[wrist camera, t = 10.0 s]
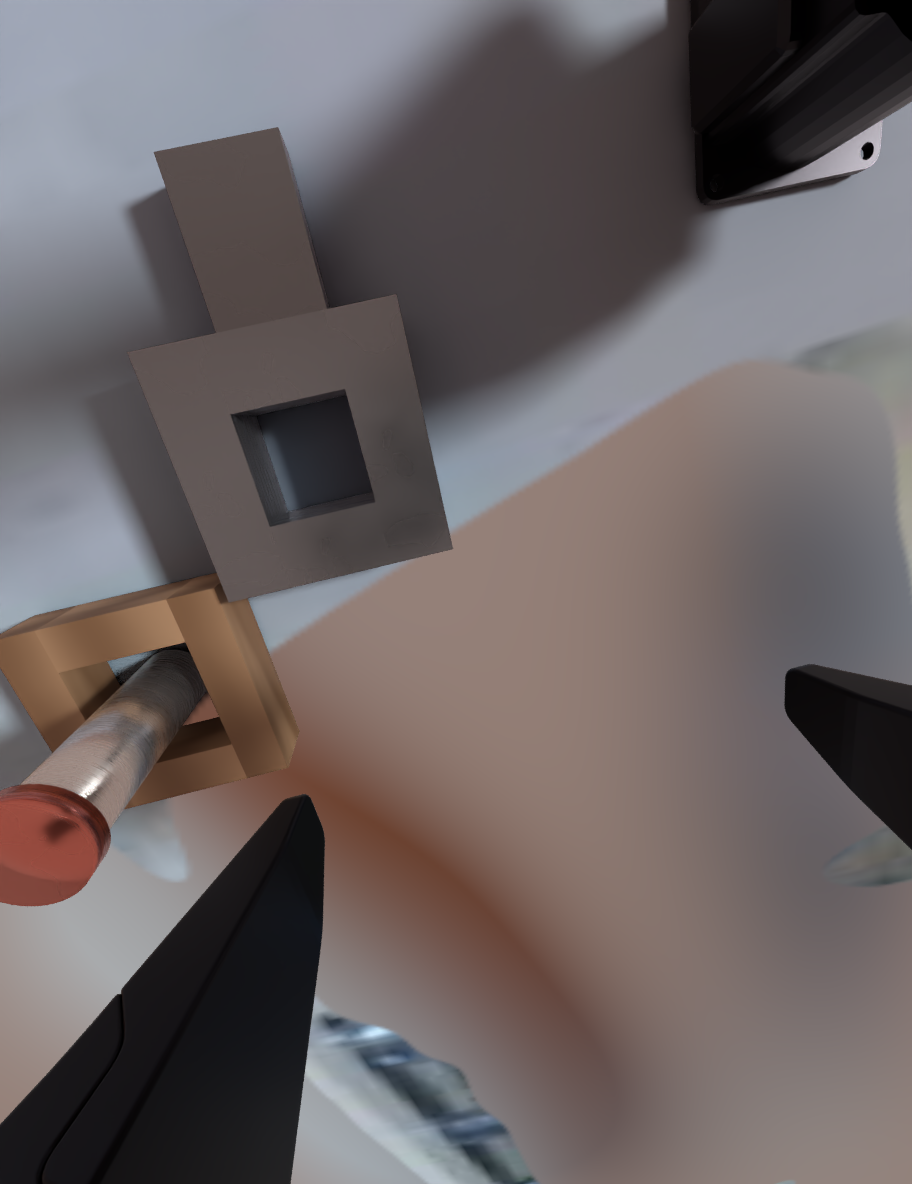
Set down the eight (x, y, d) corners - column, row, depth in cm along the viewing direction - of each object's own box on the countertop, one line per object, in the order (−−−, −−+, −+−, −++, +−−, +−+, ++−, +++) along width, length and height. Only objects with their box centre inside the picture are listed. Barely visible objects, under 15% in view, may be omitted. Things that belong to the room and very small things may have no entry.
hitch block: (356, 139, 16) (348, 78, 13) (444, 531, 20) (453, 548, 17) (105, 190, 15) (40, 139, 12) (252, 576, 20) (229, 602, 17)
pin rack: (235, 568, 20) (214, 588, 17) (299, 731, 22) (288, 767, 20) (34, 615, 19) (-16, 642, 17) (124, 775, 22) (92, 817, 20)
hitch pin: (199, 634, 20) (55, 793, 12) (228, 699, 21) (115, 887, 13) (122, 653, 20) (-80, 827, 12) (155, 717, 21) (-8, 919, 13)
